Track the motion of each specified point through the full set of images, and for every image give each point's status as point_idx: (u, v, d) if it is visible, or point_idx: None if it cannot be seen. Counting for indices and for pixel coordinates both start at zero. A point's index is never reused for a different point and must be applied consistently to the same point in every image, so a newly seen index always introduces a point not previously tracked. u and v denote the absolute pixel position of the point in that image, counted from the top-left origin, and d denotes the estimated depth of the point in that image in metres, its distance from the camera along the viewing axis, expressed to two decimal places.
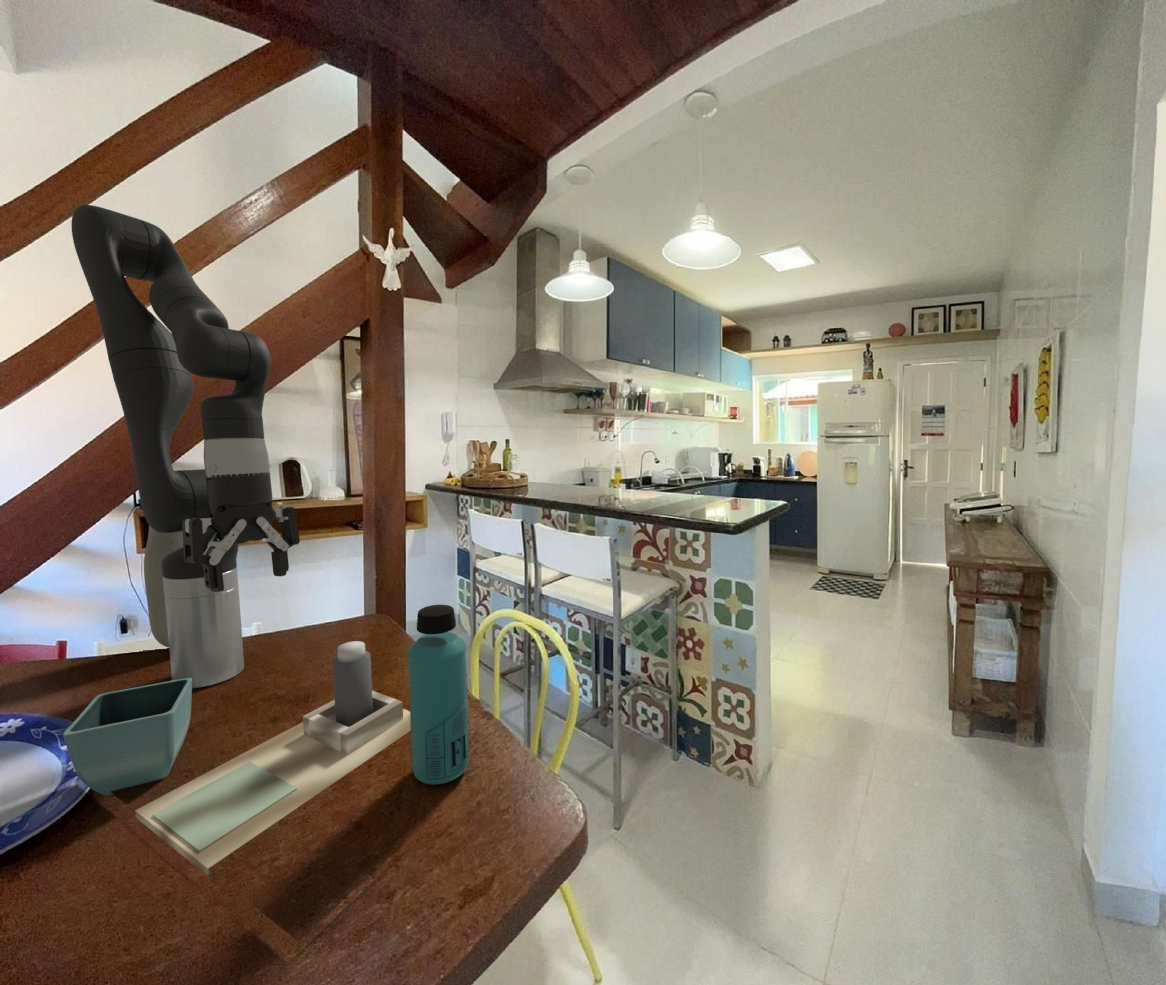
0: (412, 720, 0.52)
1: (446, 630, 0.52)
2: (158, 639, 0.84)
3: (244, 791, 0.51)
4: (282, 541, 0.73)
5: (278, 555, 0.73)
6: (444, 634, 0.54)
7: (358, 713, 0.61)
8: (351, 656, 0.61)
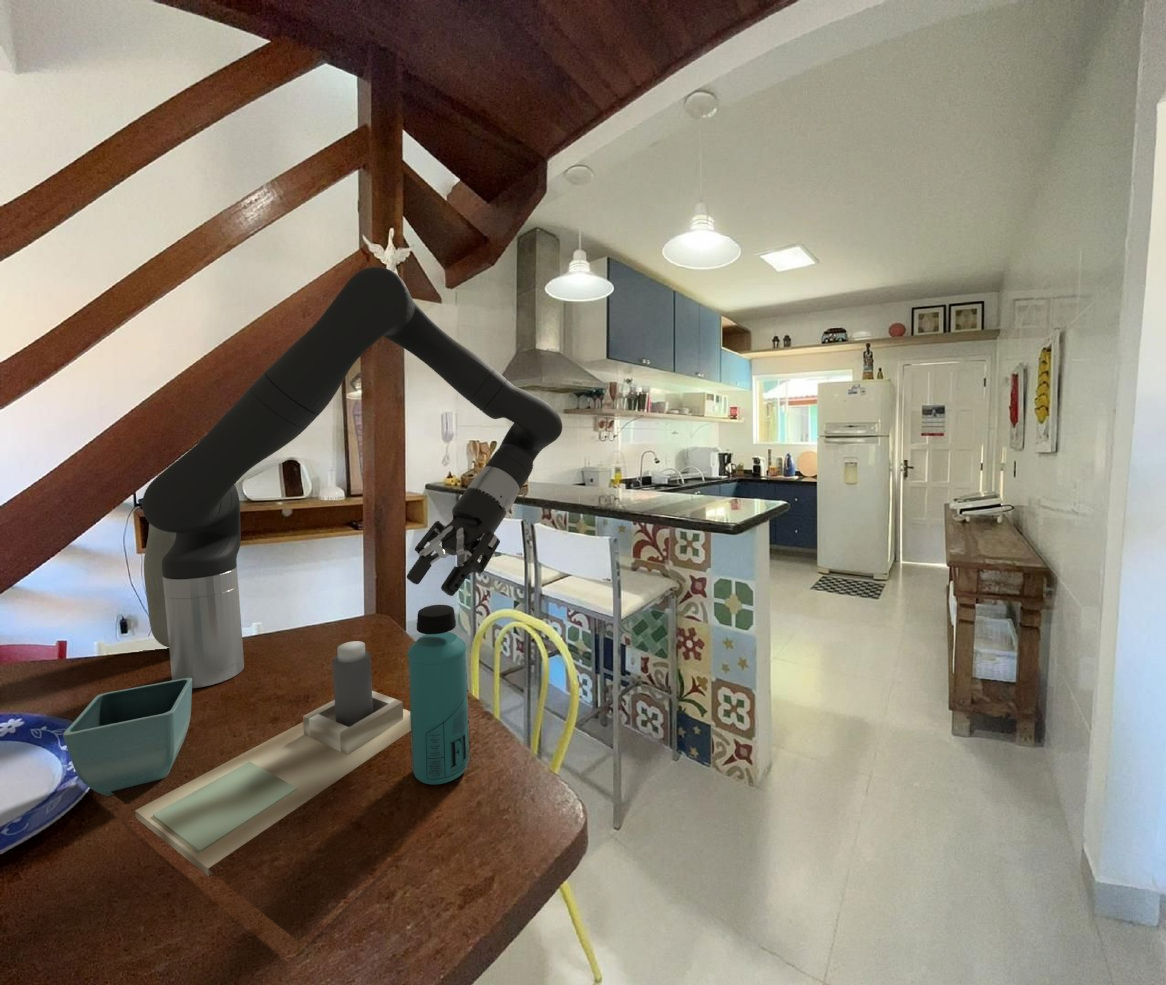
0: (412, 720, 0.52)
1: (446, 630, 0.52)
2: (158, 639, 0.84)
3: (244, 791, 0.51)
4: None
5: (428, 565, 0.75)
6: (444, 634, 0.54)
7: (358, 713, 0.61)
8: (351, 656, 0.61)
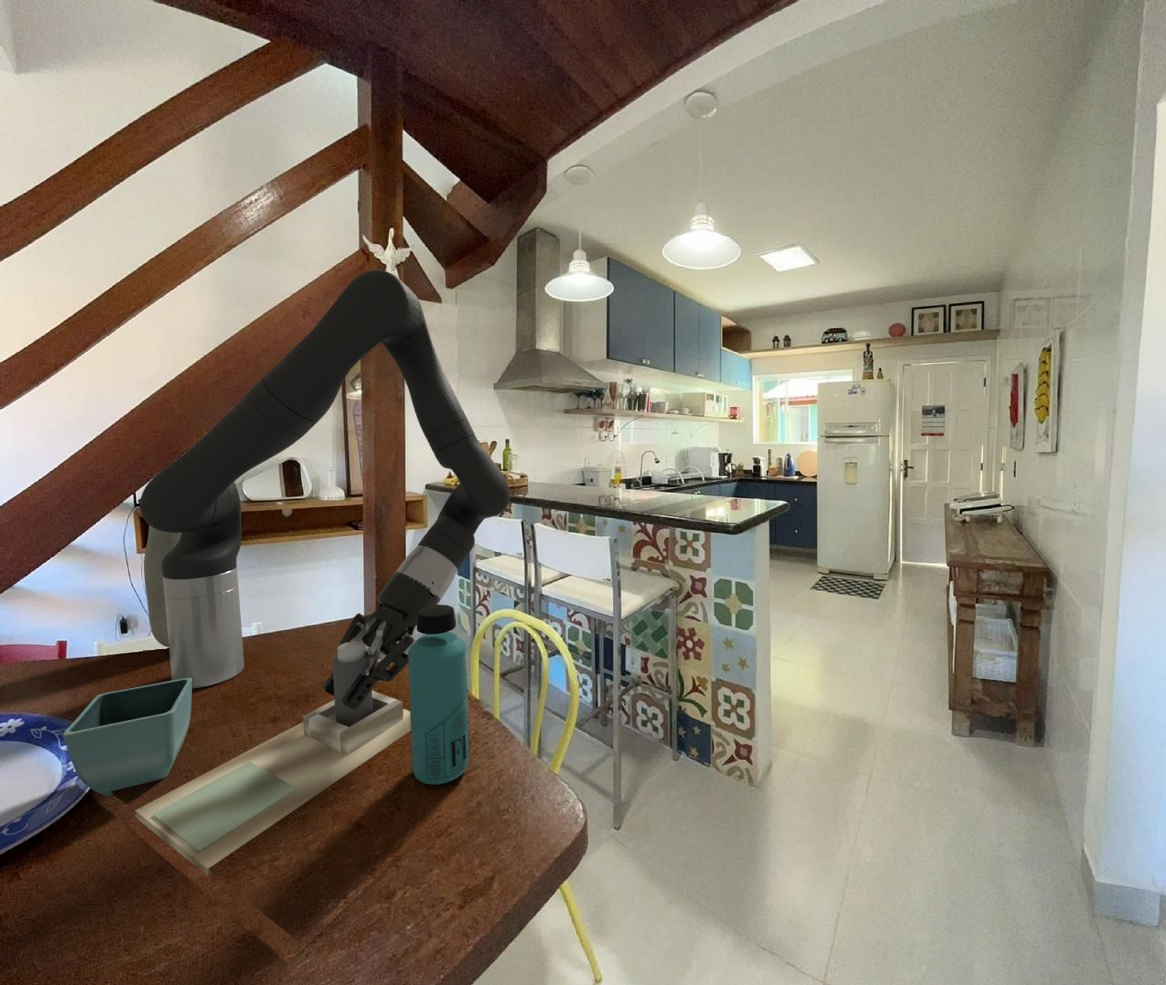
0: (412, 720, 0.52)
1: (446, 630, 0.52)
2: (158, 639, 0.84)
3: (244, 791, 0.51)
4: None
5: None
6: (444, 634, 0.54)
7: (358, 713, 0.61)
8: (350, 656, 0.61)
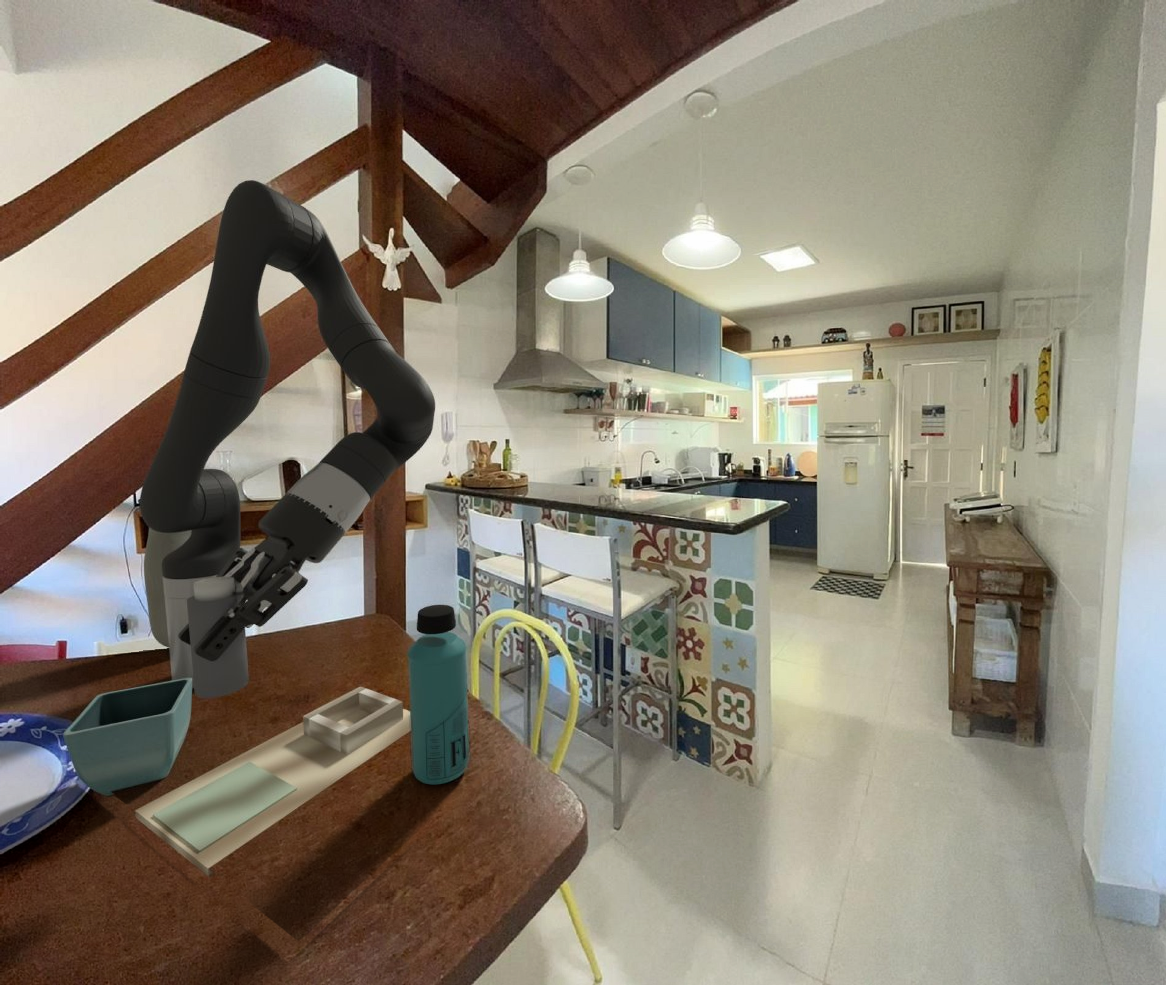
0: (412, 720, 0.52)
1: (446, 630, 0.52)
2: (158, 639, 0.84)
3: (244, 791, 0.51)
4: None
5: None
6: (444, 634, 0.54)
7: (221, 667, 0.47)
8: (209, 592, 0.46)
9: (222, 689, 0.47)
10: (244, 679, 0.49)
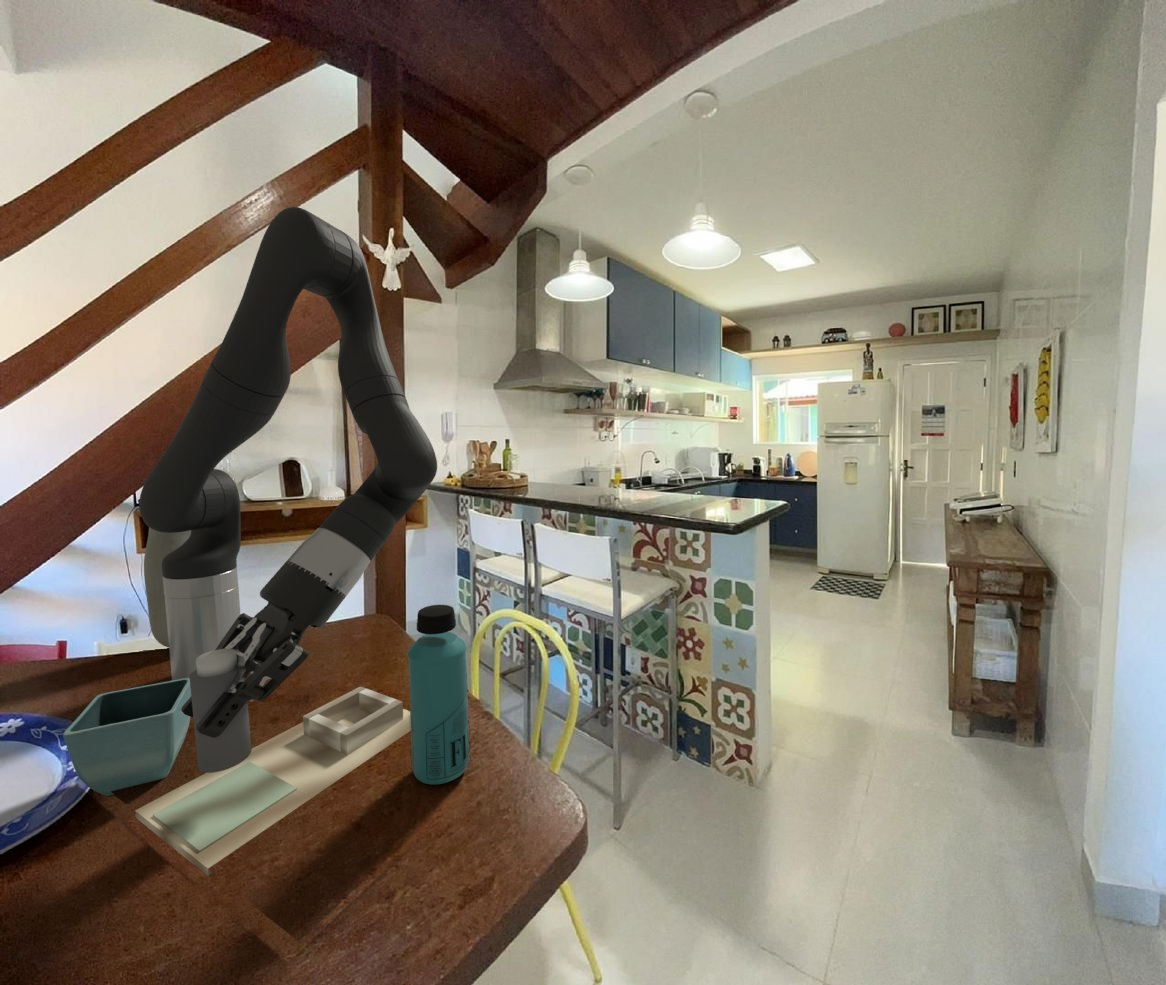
0: (412, 720, 0.52)
1: (446, 630, 0.52)
2: (158, 639, 0.84)
3: (244, 791, 0.51)
4: None
5: None
6: (444, 634, 0.54)
7: (223, 741, 0.47)
8: (212, 668, 0.47)
9: (225, 763, 0.48)
10: (246, 750, 0.49)
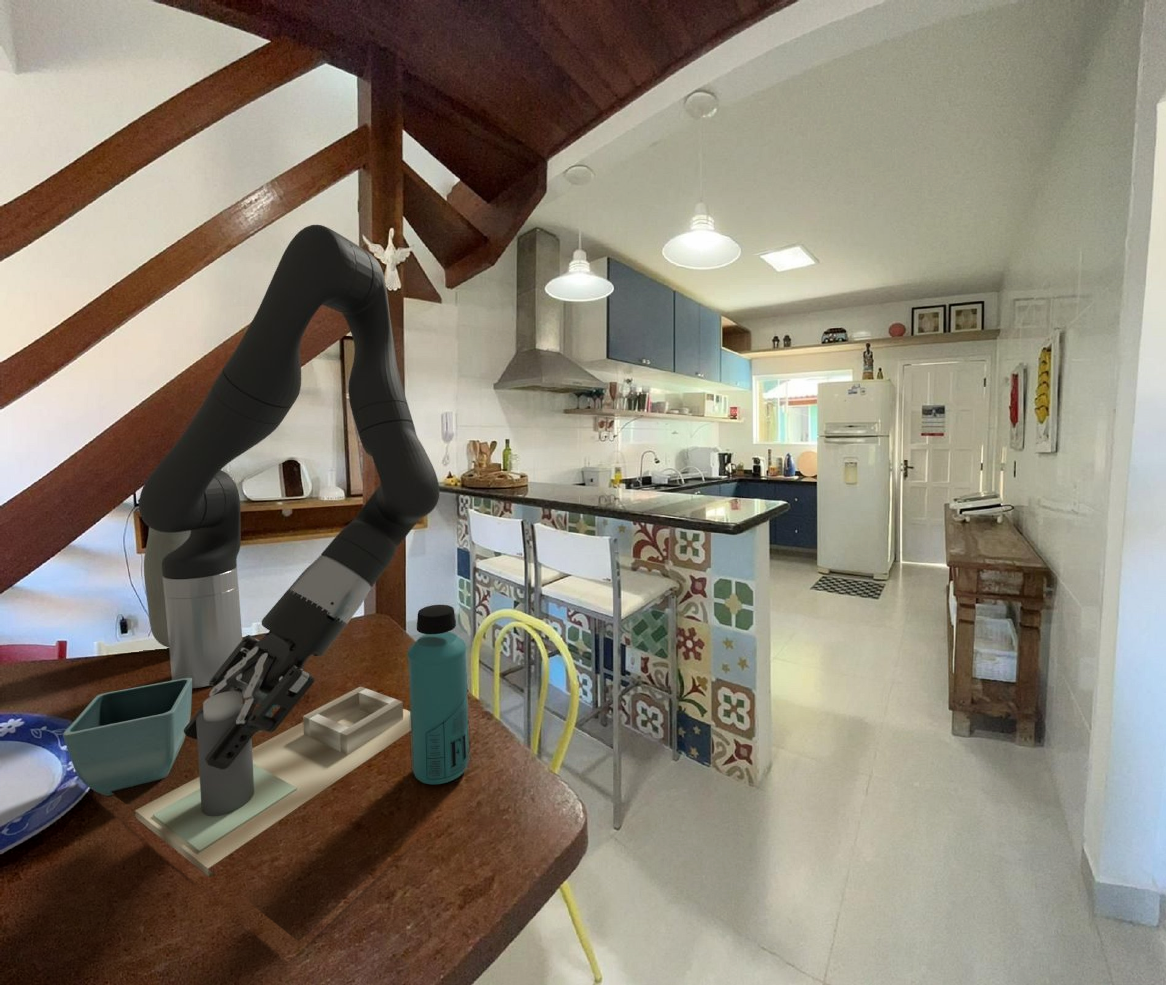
0: (412, 720, 0.52)
1: (446, 630, 0.52)
2: (158, 639, 0.84)
3: None
4: None
5: None
6: (444, 634, 0.54)
7: (227, 785, 0.48)
8: (218, 713, 0.47)
9: (228, 806, 0.48)
10: (249, 792, 0.50)
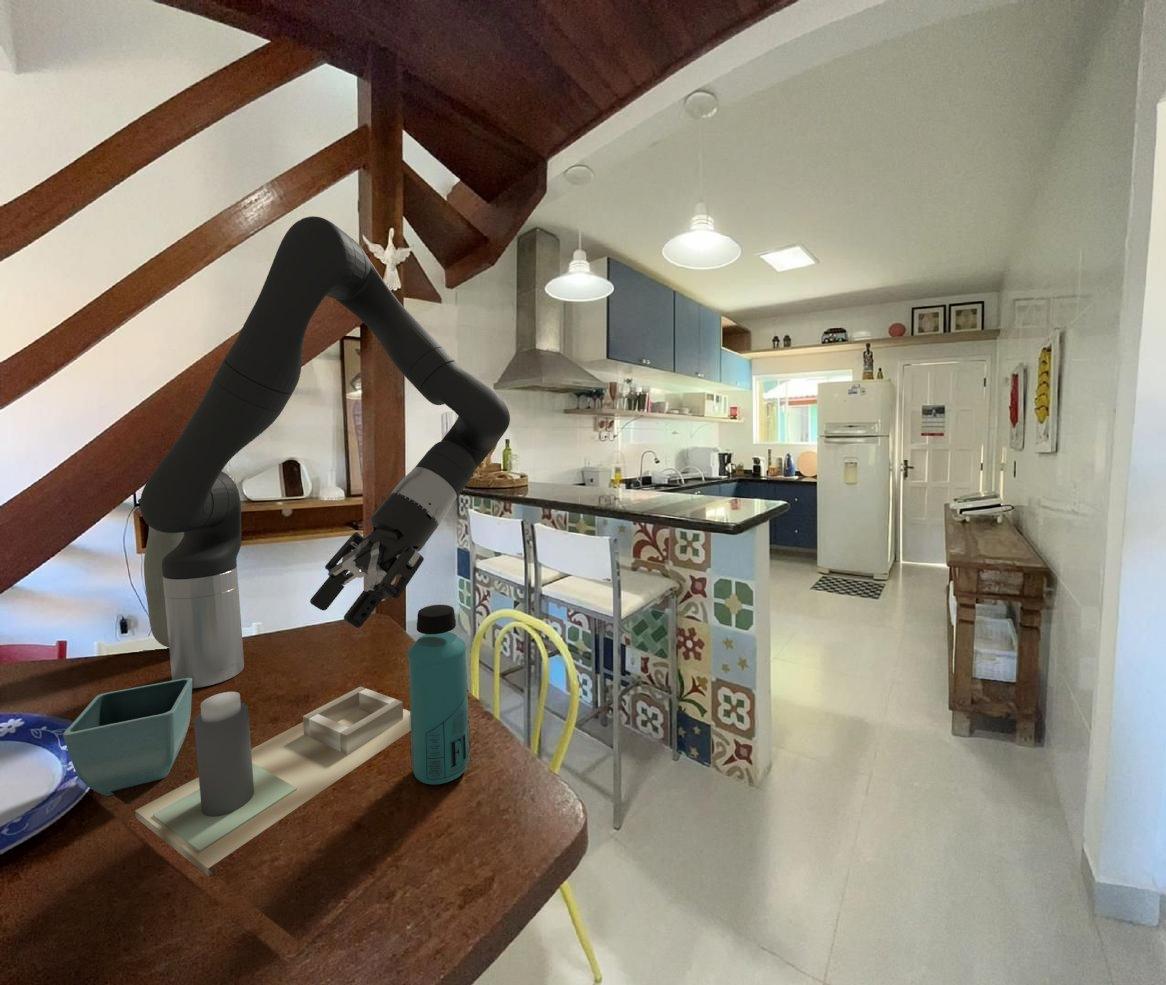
0: (412, 720, 0.52)
1: (446, 630, 0.52)
2: (158, 639, 0.84)
3: None
4: None
5: (340, 587, 0.62)
6: (444, 634, 0.54)
7: (227, 786, 0.48)
8: (216, 714, 0.47)
9: (228, 807, 0.48)
10: (249, 792, 0.50)
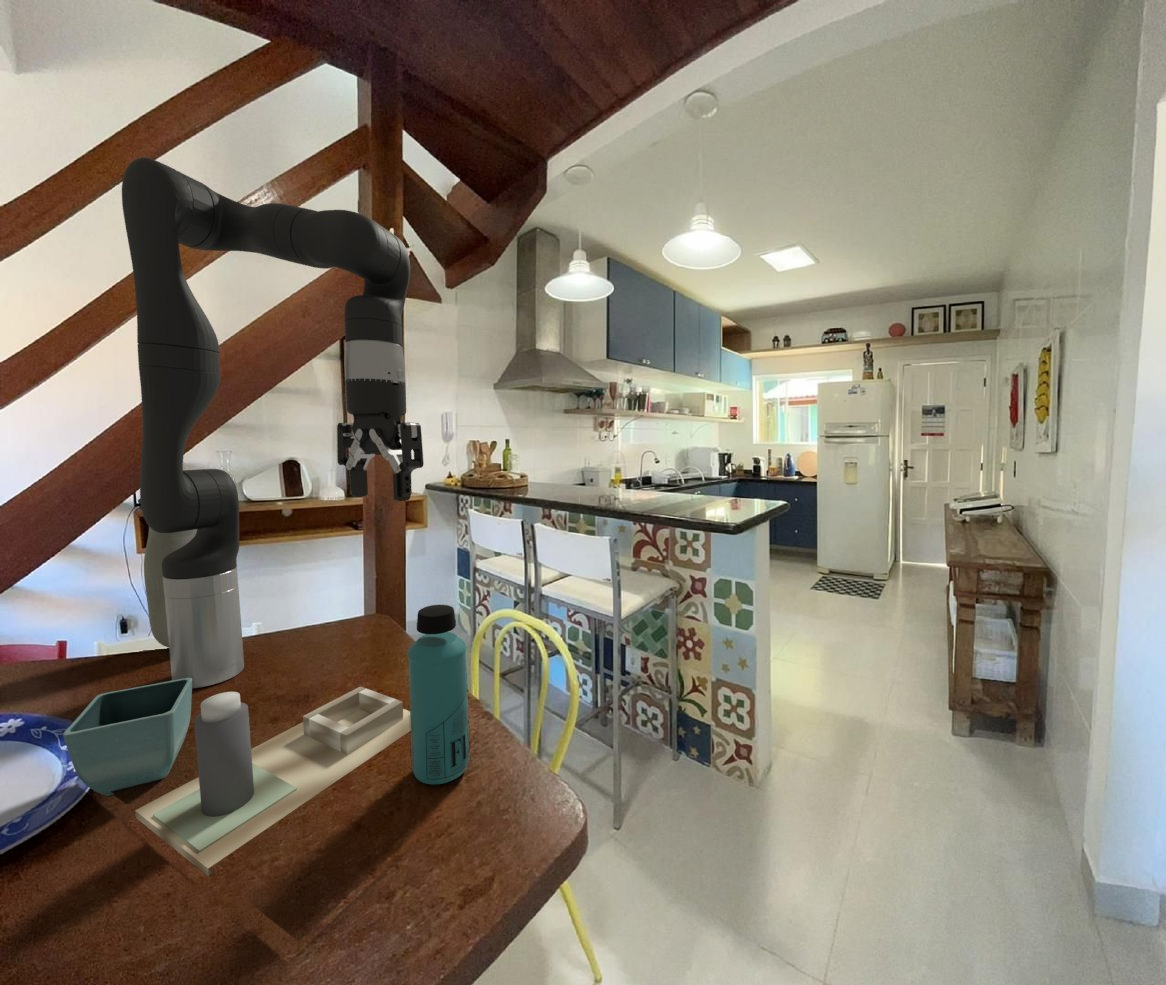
0: (412, 720, 0.52)
1: (446, 630, 0.52)
2: (158, 639, 0.84)
3: None
4: None
5: (364, 473, 0.69)
6: (444, 634, 0.54)
7: (227, 786, 0.48)
8: (216, 714, 0.47)
9: (228, 807, 0.48)
10: (249, 792, 0.50)
